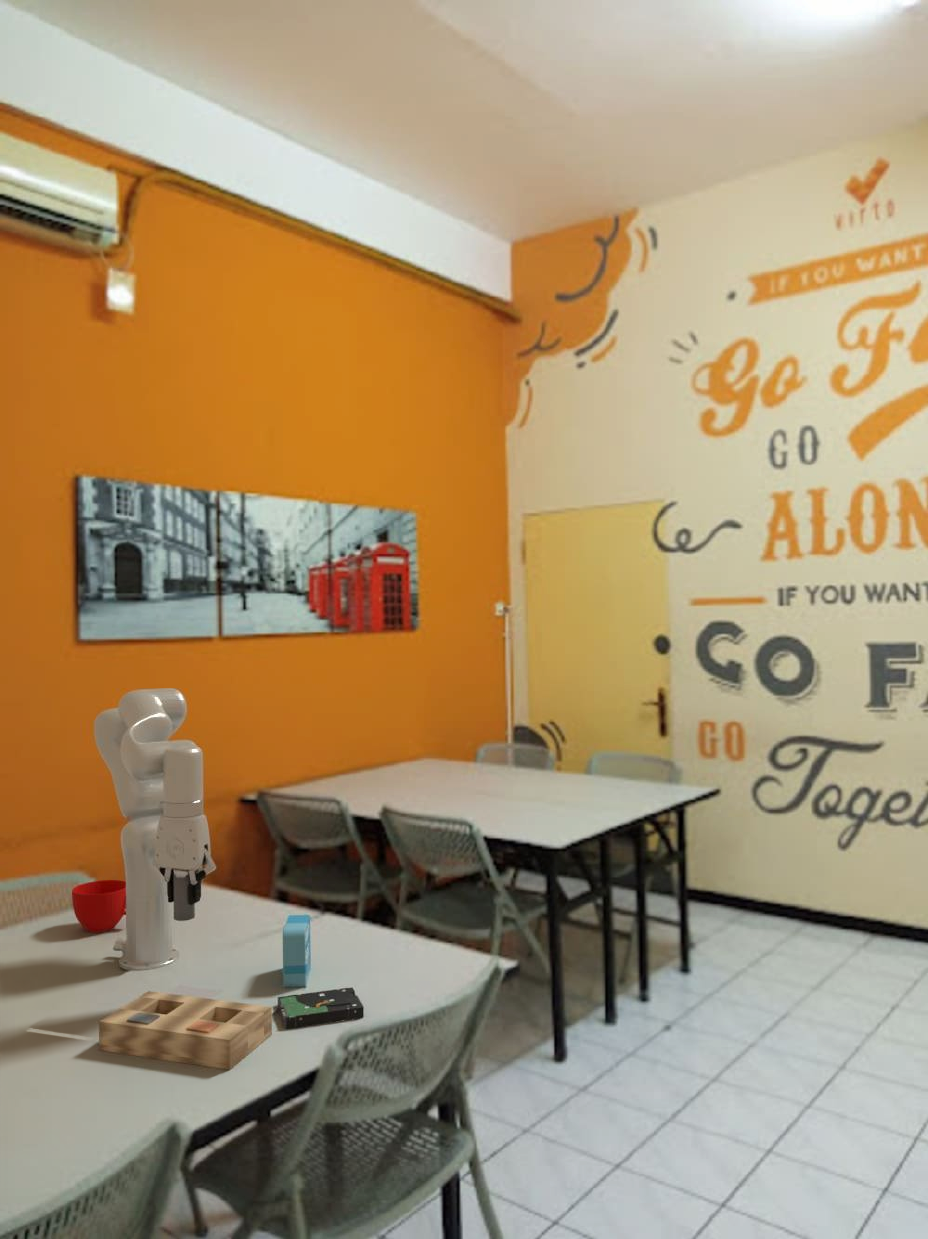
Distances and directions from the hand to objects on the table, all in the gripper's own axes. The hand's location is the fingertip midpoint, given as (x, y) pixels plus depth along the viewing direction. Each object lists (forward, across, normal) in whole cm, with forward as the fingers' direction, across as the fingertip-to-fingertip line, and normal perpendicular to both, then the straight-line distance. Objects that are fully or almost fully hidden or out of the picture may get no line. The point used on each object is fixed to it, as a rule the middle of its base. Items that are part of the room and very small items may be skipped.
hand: (184, 900), depth 188 cm
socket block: (+19, +12, -16) cm, 28 cm away
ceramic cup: (+21, -44, +33) cm, 58 cm away
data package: (+20, +16, +16) cm, 30 cm away
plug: (+3, 0, 0) cm, 3 cm away
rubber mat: (+20, 0, 0) cm, 20 cm away
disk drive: (+20, +29, +2) cm, 35 cm away
